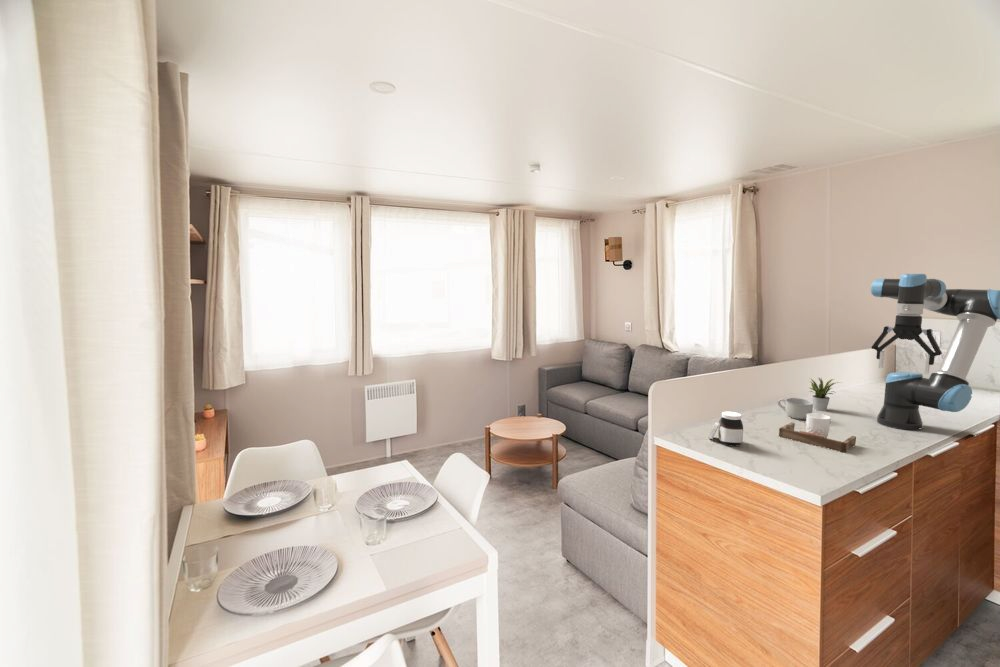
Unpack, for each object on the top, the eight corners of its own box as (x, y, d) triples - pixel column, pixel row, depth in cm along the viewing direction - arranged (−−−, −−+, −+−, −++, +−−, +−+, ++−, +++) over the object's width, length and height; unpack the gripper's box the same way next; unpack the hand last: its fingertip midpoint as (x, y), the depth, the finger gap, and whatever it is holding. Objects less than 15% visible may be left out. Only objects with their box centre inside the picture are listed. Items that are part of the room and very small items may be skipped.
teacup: (816, 418, 214) (817, 401, 213) (805, 422, 208) (806, 405, 207) (784, 411, 225) (785, 395, 224) (772, 415, 219) (773, 398, 218)
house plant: (842, 409, 229) (845, 376, 227) (839, 415, 218) (842, 381, 216) (807, 404, 238) (810, 372, 236) (803, 409, 228) (806, 376, 226)
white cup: (832, 444, 181) (834, 419, 180) (809, 443, 182) (811, 418, 181) (822, 437, 188) (824, 413, 187) (801, 436, 190) (803, 412, 189)
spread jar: (744, 448, 177) (746, 418, 176) (713, 446, 179) (715, 416, 177) (734, 437, 189) (736, 409, 188) (704, 435, 191) (706, 408, 189)
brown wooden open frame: (790, 430, 197) (791, 420, 197) (855, 445, 180) (856, 435, 179) (778, 436, 190) (779, 426, 189) (844, 452, 172) (845, 442, 172)
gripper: (865, 313, 184) (860, 366, 186) (952, 317, 164) (945, 377, 167) (871, 312, 189) (866, 364, 191) (956, 316, 169) (949, 374, 172)
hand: (903, 370), depth 179 cm, fingers open, 13 cm apart
